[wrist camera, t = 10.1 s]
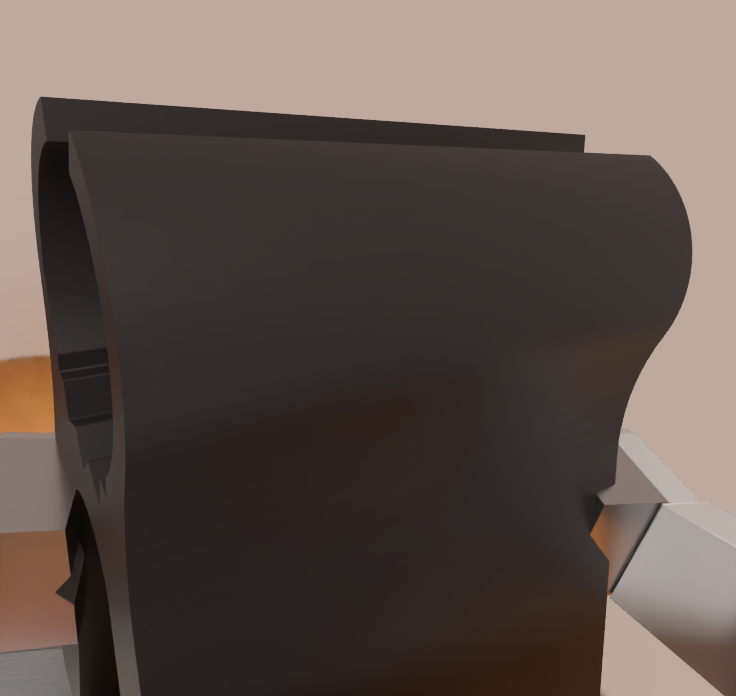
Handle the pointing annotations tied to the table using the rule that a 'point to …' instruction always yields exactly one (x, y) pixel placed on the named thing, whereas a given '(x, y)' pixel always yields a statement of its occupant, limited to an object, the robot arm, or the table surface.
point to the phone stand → (342, 394)
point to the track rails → (34, 673)
